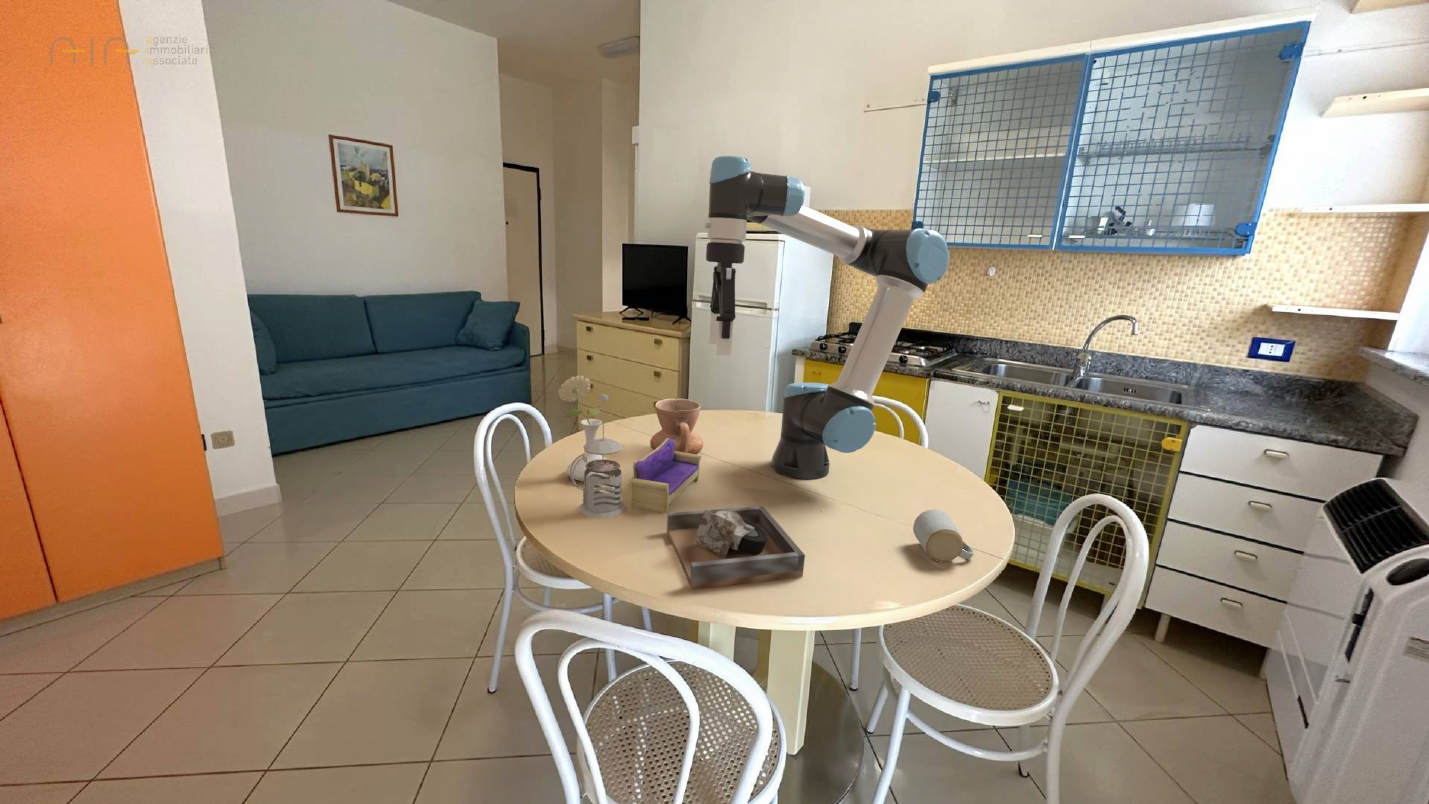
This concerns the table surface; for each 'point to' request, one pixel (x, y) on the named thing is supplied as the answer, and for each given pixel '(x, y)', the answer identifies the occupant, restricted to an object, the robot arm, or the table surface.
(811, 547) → the table surface
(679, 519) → the square tray
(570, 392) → the flower in vase
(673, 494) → the toy sofa
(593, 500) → the french press
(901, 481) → the table surface
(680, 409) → the ceramic jug
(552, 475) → the table surface
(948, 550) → the ceramic mug
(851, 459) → the table surface
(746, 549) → the caster wheel
